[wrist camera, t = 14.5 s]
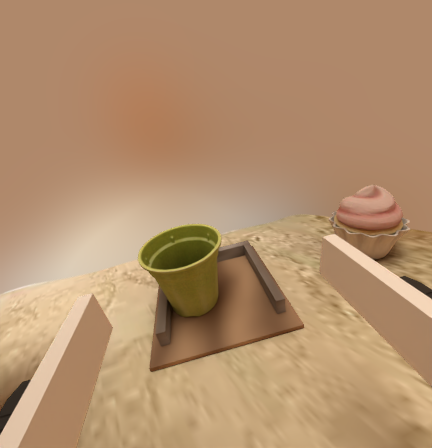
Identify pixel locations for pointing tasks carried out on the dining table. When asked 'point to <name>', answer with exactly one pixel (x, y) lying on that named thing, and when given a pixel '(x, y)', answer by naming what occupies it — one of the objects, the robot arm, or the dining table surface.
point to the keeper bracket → (225, 312)
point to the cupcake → (370, 221)
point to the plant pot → (185, 266)
